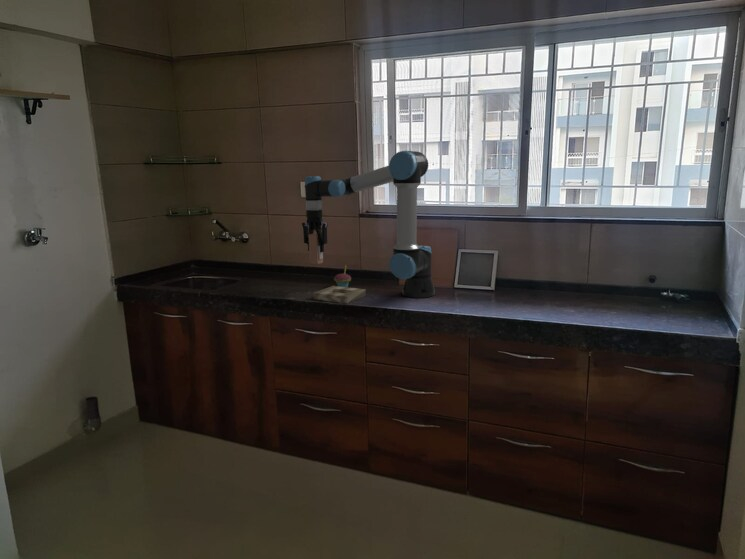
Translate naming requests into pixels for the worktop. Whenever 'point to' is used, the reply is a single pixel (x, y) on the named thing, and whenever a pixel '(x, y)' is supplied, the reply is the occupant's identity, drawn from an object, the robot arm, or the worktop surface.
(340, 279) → the cupcake
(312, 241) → the bracket bar
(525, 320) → the worktop surface
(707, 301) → the worktop surface
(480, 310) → the worktop surface
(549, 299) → the worktop surface
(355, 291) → the well block
